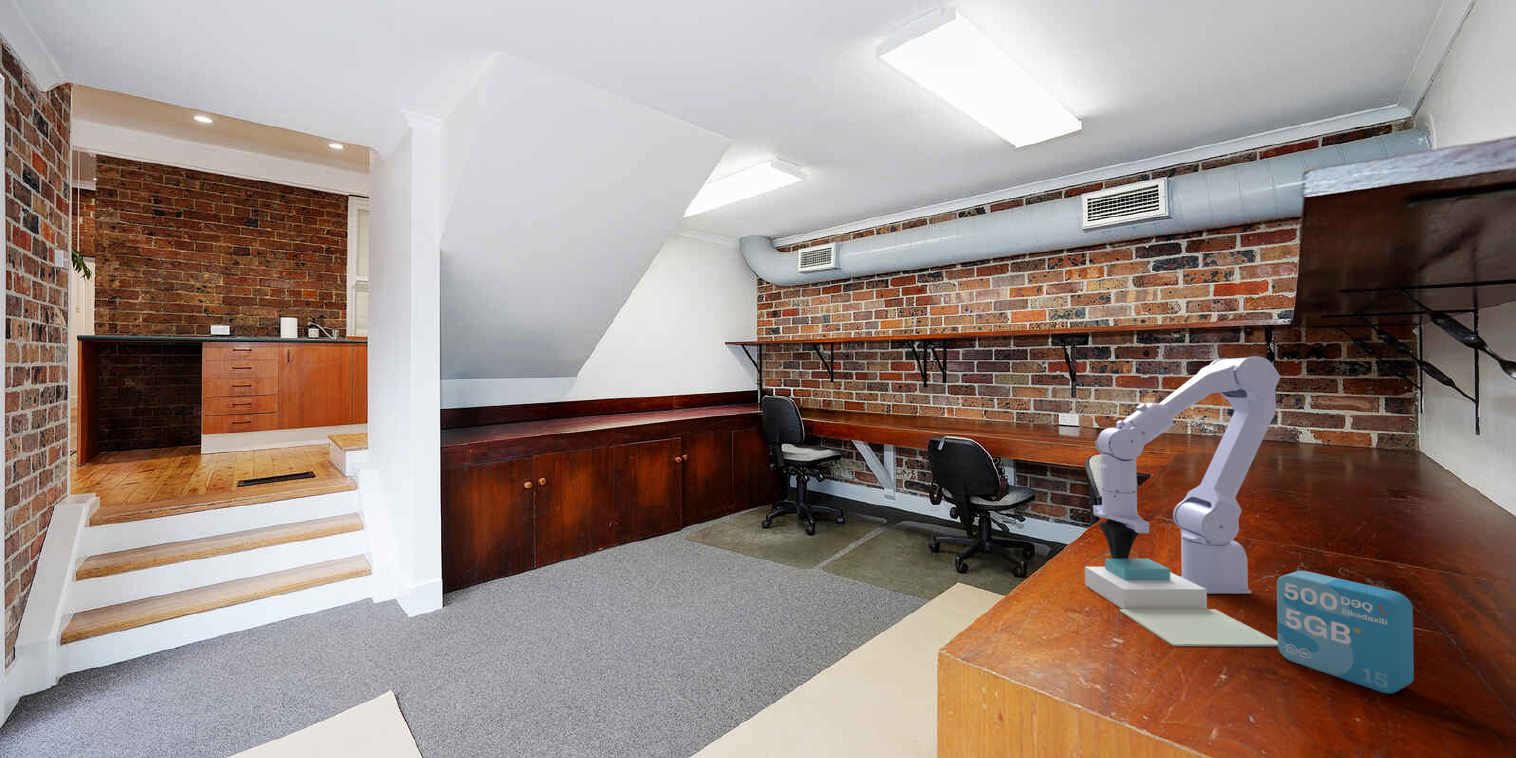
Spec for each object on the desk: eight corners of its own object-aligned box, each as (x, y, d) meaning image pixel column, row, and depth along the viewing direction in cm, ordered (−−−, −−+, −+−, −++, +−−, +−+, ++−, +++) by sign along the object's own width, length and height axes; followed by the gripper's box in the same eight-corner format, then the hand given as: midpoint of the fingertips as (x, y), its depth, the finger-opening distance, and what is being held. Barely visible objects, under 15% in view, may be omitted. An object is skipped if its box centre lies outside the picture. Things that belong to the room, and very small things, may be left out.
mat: (1215, 611, 97) (1215, 609, 97) (1283, 646, 84) (1283, 644, 84) (1119, 610, 97) (1119, 609, 97) (1173, 646, 84) (1173, 644, 84)
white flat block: (1159, 585, 109) (1158, 566, 109) (1206, 609, 97) (1206, 589, 97) (1085, 584, 110) (1084, 566, 110) (1123, 609, 98) (1123, 589, 98)
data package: (1277, 657, 81) (1275, 572, 81) (1293, 650, 83) (1291, 567, 83) (1399, 699, 70) (1398, 600, 70) (1414, 690, 72) (1413, 594, 72)
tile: (1148, 569, 108) (1147, 558, 108) (1170, 580, 102) (1170, 568, 102) (1105, 569, 108) (1105, 558, 108) (1124, 580, 102) (1124, 568, 102)
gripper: (1077, 483, 118) (1078, 549, 117) (1120, 498, 103) (1121, 573, 103) (1112, 483, 117) (1113, 549, 117) (1160, 497, 103) (1161, 573, 103)
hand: (1119, 561), depth 110 cm, fingers closed
